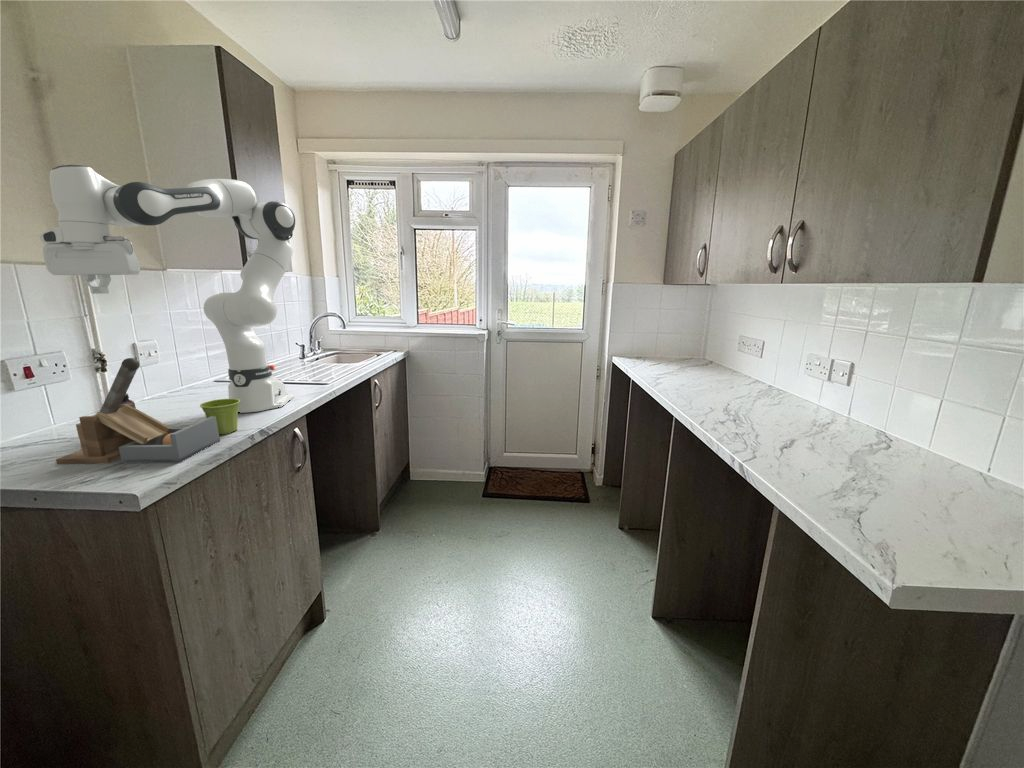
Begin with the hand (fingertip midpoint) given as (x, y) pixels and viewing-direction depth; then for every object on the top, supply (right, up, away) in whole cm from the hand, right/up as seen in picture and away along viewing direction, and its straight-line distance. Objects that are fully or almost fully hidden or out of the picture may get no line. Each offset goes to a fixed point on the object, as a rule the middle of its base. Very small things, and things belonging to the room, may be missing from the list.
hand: (100, 293), depth 105 cm
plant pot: (+22, -37, +14) cm, 45 cm away
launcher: (+9, -34, -2) cm, 35 cm away
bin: (+19, -40, -1) cm, 45 cm away
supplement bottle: (-6, -37, +14) cm, 40 cm away
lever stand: (+3, -40, -1) cm, 40 cm away
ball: (+20, -37, -1) cm, 42 cm away
